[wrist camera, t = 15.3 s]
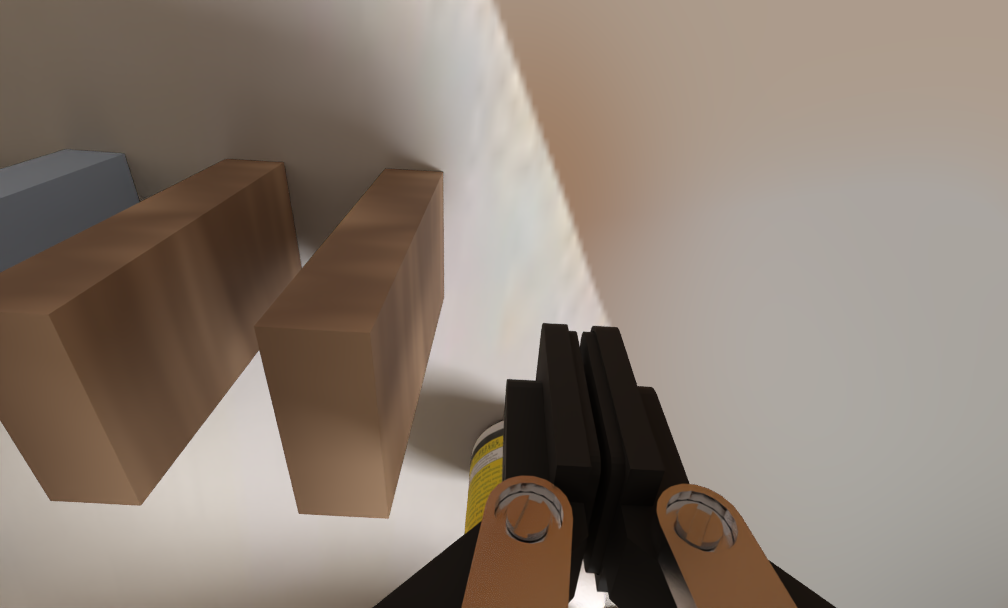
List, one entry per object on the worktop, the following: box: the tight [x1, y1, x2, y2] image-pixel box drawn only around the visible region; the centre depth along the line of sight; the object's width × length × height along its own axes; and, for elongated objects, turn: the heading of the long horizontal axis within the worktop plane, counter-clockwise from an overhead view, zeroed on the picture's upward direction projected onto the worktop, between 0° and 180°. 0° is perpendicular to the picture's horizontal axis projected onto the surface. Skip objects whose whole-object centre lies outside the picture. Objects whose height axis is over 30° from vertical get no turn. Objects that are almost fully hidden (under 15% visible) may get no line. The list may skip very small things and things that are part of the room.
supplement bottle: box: [465, 421, 605, 608], centre depth 20 cm, size 5×5×10 cm
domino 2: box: [254, 169, 444, 519], centre depth 14 cm, size 2×5×10 cm, turn 177°
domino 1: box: [0, 159, 302, 505], centre depth 14 cm, size 2×5×10 cm, turn 177°
